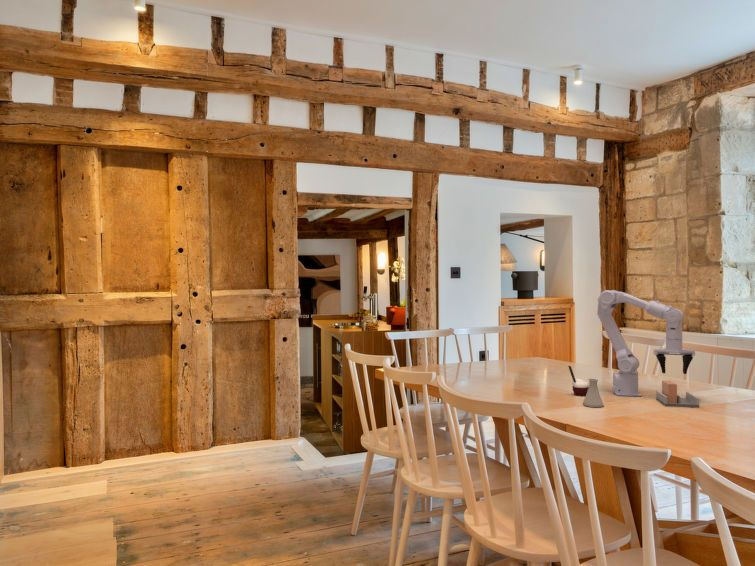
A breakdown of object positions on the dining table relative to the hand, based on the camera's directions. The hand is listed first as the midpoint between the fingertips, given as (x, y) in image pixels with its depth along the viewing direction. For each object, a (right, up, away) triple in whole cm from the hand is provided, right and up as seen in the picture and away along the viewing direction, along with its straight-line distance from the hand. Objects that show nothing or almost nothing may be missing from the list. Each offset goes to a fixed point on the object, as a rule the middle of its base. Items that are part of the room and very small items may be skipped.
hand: (674, 373), depth 219 cm
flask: (-36, -11, -10) cm, 39 cm away
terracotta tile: (-5, -9, -6) cm, 12 cm away
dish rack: (-3, -10, -7) cm, 13 cm away
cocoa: (-34, -11, +10) cm, 37 cm away
